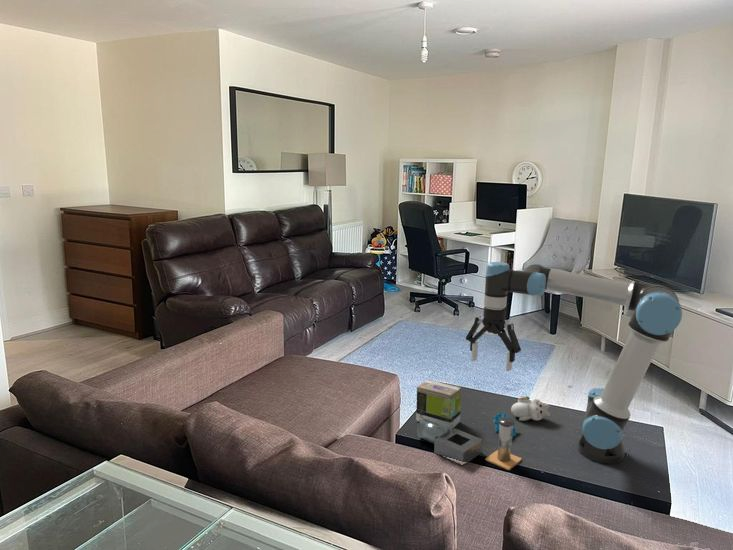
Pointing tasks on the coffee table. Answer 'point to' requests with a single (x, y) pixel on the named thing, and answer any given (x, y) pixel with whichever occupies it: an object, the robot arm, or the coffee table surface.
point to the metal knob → (505, 439)
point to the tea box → (439, 403)
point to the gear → (498, 422)
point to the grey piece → (450, 441)
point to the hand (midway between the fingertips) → (491, 365)
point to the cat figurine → (530, 409)
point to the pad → (505, 465)
